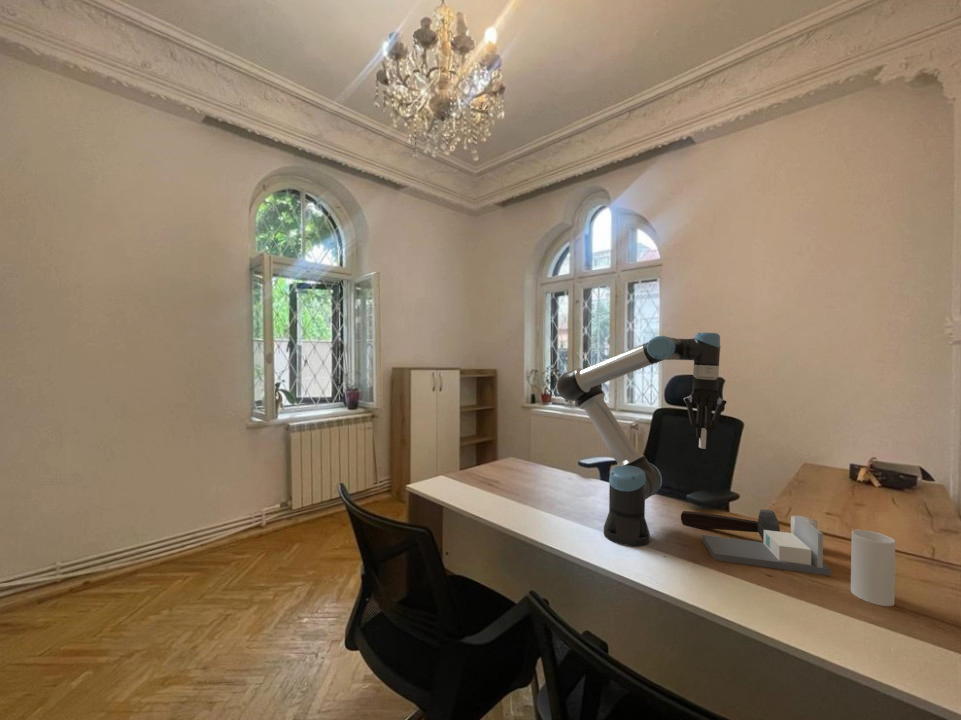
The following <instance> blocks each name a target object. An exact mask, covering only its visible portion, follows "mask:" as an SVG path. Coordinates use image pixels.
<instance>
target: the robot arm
mask: <svg viewBox="0 0 961 720" xmlns="http://www.w3.org/2000/svg"><path fill="white" fill-rule="evenodd" d="M721 348H722V347H721V336H720V334H719V333H717V332H697V333H695V334H694V337H693V338H675V337H670V336H666V335H657V336H654V337H652V338H651V339H650V340H649V341H647V342H645V343H642V344H641V345H639V346H635V347H633V348H631V349H629V350H626V351H624V352H621V353H619V354H616V355H614V356H611V357H609V358H607V359H604V360H601V361H599V362H597V363H595V364H592V365H590V366H588V367H586V368H576V369H573V370H571V371H568V372H565V373H563V374H562V375H560V377H559V378H558V380H557V383H556V390H557V392H558V394H559V396H560V397H561V398H562V399H564V400H566V401H568V402H569V401H570V402H575V404H576V405H577V406H578V409H580V410H582V411H585V412H586V414H587V416H588V417H589V419H590V421H591V423H592V424H593V426H594V427H595V429H596V431H597V432H598V434H599V435H600V437H601V439H602V441H603V442H604V444H605V446H606V447H607V449H608V450H609V452H610V454H611V455H612V457H613V459H614V460H615V462H616V463H617V466H615V467H613V468H612V469H611V471H609V479H608V482H609V483H608V484H609V485H608V486H609V493H608V494H609V500H608V501H609V502H608V505H609V509H608V514H607V516H606V520H605V523H604V524H603V537H604V536H605V538H606V539H607V540H609V541H612V542H613V543H616V544H619V545H622V546H628V547H630V546H631V547H641V546H643V547H644V546H646V545H647V544H649V543H650V542H651V541H650V540H651V537H650V536H651V534H650V530H649V527H648V524H647V519H646V515H645V514H646V512H645V511H646V500H647V499H649V498H651V497H652V496H654V495H656V494H657V493H658V491H659V490H660V488H661V487H662V484H663V477H662V473H661V471H660V469H658V467H657V466H655V465H654V464H653V463H650V462H649V461H648V459H647V458H646V455H644V454H641V453H638V451H637V450H636V448H635V447H634V445H633V444H632V442H631V440H630V439H629V437H628V436H627V434H626V433H625V431H624V429H623V428H622V426H621V424H620V423H619V422H618V420H617V418H616V417H615V416H614V414H613V413H612V410H611V408H609V406H608V404H607V403H606V401H605V393H604V391H603V390H602V389H603V384H604V383H607V382H609V381H612V380H615V379H617V378H620V377H623V376H625V375H628V374H630V373H633V372H636V371H638V370H641V369H643V368H646V367H648V366H651V365H654V364H657V363H660V362H662V361H665V360H666V361H670V360H671V361H672V360H673V361H674V360H675V361H693V372H692V373H693V374H692V376H693V377H694V378H693V379H692V391H691V392H690V395H689V396H687V397H683V401H684V403H685V404H686V408H687V409H686V410H687V415H688V418H689V424H690V425H691V427H694V428H696V430H695V437H696V438H697V439H698V448H700V449H704V450H706V449H707V448H706V447H707V440H709V439H710V435H711V434H710V433H711V429H716V428H717V426H718V424H719V420H720V417H721V415H722V411H723V408H724V407H725V405H726V404H727V401H726V399H725V400H724V399H723V398H722V397H720V393H719V380H718V378H719V377H720V376H719V375H720V374H719V373H720V358H721V357H720V356H721V355H720V354H721ZM693 401H694V403H695V404H696V416H695V413H694V409H693V405H692V402H693ZM715 403H716V407H715V410H714V413H713V415H712V409H713V405H714V404H715ZM704 408H705V409H704ZM703 412H704V413H703ZM703 414H704V415H703ZM703 416H704V427H703Z"/></svg>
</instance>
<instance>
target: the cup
mask: <svg viewBox="0 0 961 720" xmlns="http://www.w3.org/2000/svg"><path fill="white" fill-rule="evenodd" d="M850 544H851V546H850V547H851V550H850V553H851V555H850V556H851V557H850V558H851V559H850V560H851V561H850V564H851V565H850V592H851V594H852V595H853V596H855V597H856V598H859V599H861V600H862V601H865V602H867V603H870V604H873V605H877V606H882V607H893V606H894V605H895V589H896V588H895V587H896V586H895V585H896V584H895V583H896V581H895V579H896V540H895V539H894V538H892V537H890V536H889V535H885V534H883V533H879V532H876V531H872V530H866V529H853V530H852V531H851V543H850Z"/></svg>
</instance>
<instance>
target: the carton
mask: <svg viewBox="0 0 961 720" xmlns="http://www.w3.org/2000/svg"><path fill="white" fill-rule="evenodd" d="M762 542H763V544H764V545H765V546H766V547H767V548H768V549H769V550H770V551H771V552H772V553H773V554H774V556H775V557H776V558H777V559H778V560H779V561H785V562H792V563H799V564H807V565H811V549H810V548H809V547H808V546H806V545H805V544H804V543H803V542H802V541H801V540H800V539H798V538H797V537H796V536H795V535H794V534H793V533H791V532H787V531H786V532H785V531H780V532H778V531H770V530H764V539H763V540H762Z"/></svg>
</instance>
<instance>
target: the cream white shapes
mask: <svg viewBox="0 0 961 720" xmlns="http://www.w3.org/2000/svg"><path fill="white" fill-rule="evenodd" d="M799 516H800V517H801V518H803V519H804V520H805V521H807V522H808V523H810V524H811V525H812V526H814V527H815V528H816V529H818V528H819V527H818V526H819V522H818V520H815V519H814V518H811V517H808V516H807V517H806V516H803V515H799ZM818 530H819V529H818ZM794 532H795V515H791V516H790V533H793V534H794Z"/></svg>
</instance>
